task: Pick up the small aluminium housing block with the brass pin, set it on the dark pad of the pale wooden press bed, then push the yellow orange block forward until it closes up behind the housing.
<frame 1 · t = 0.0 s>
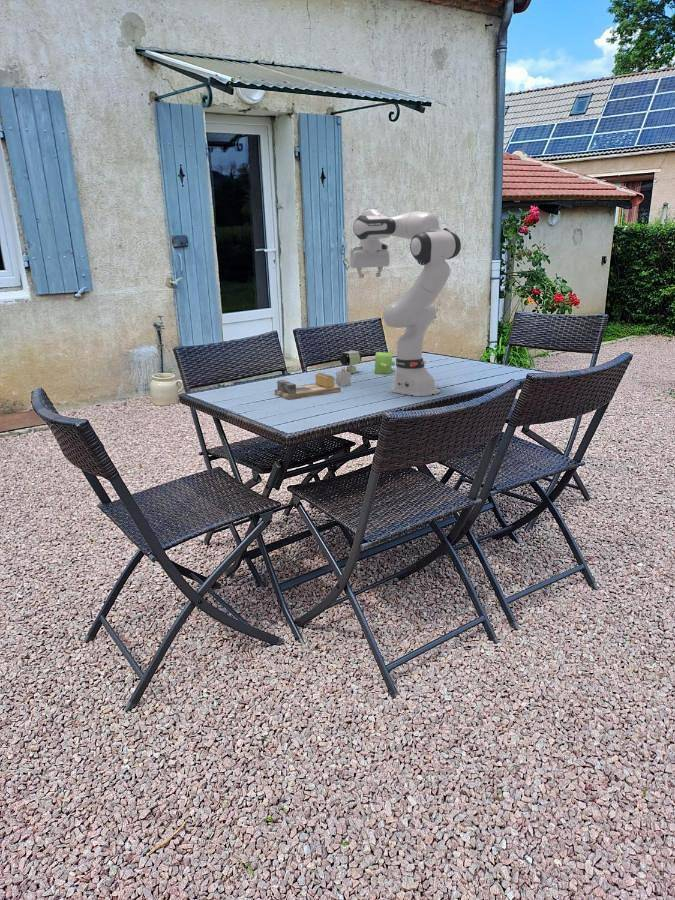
hand: (369, 277, 311), 48 cm above the table, tool pointing down, fingers open, 8 cm apart
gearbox: (384, 372, 341), on the table
housing: (343, 384, 314), on the table
yellow orange block: (324, 379, 302), point 5 cm above the table, slide at 0.0 cm
pneumatic valve: (351, 373, 340), on the table
press bed: (307, 392, 299), on the table
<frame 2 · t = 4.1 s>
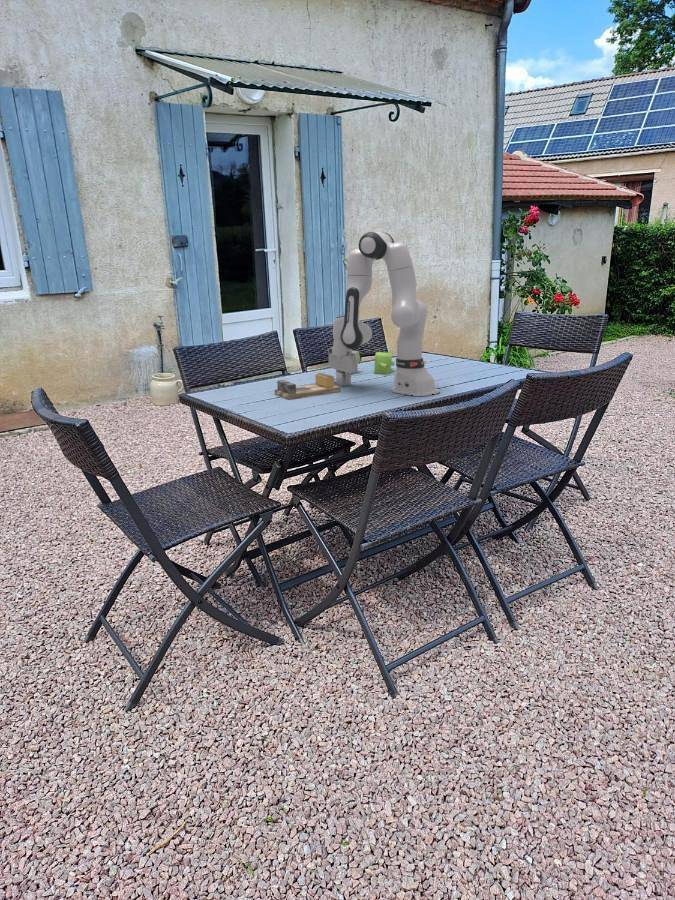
hand: (343, 380, 313), 2 cm above the table, tool pointing down, fingers closed on housing, 5 cm apart
housing: (343, 384, 314), on the table, touching gripper
everything else where it was.
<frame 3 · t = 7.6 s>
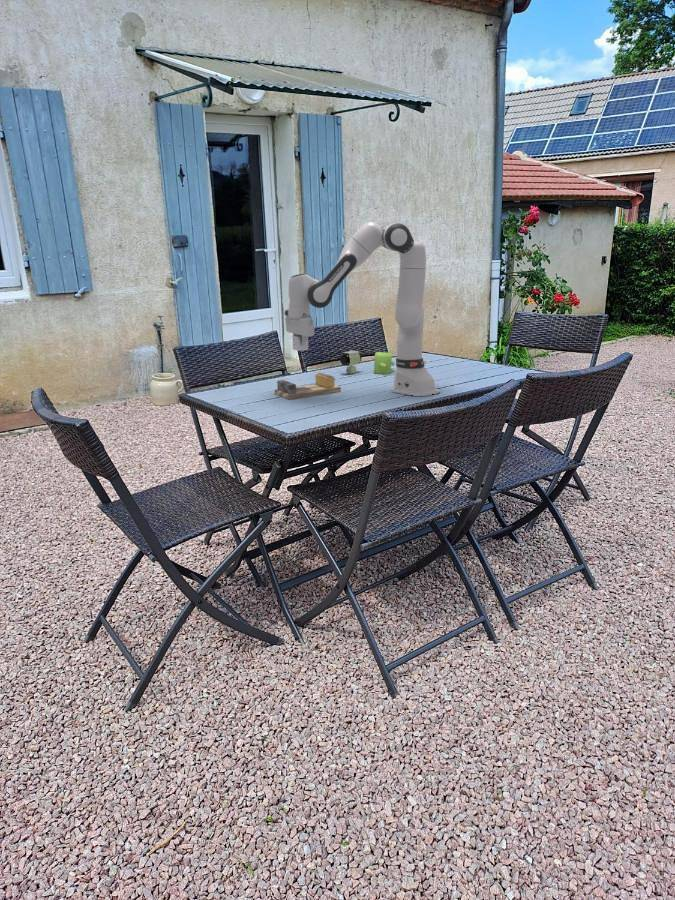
hand: (300, 344, 291), 22 cm above the table, tool pointing down, fingers closed on housing, 5 cm apart
housing: (300, 349, 292), point 20 cm above the table, touching gripper
everything else where it was.
when the fingers open (6 cm above the table, at t = 11.2 s): housing drops 1 cm, resting on press bed.
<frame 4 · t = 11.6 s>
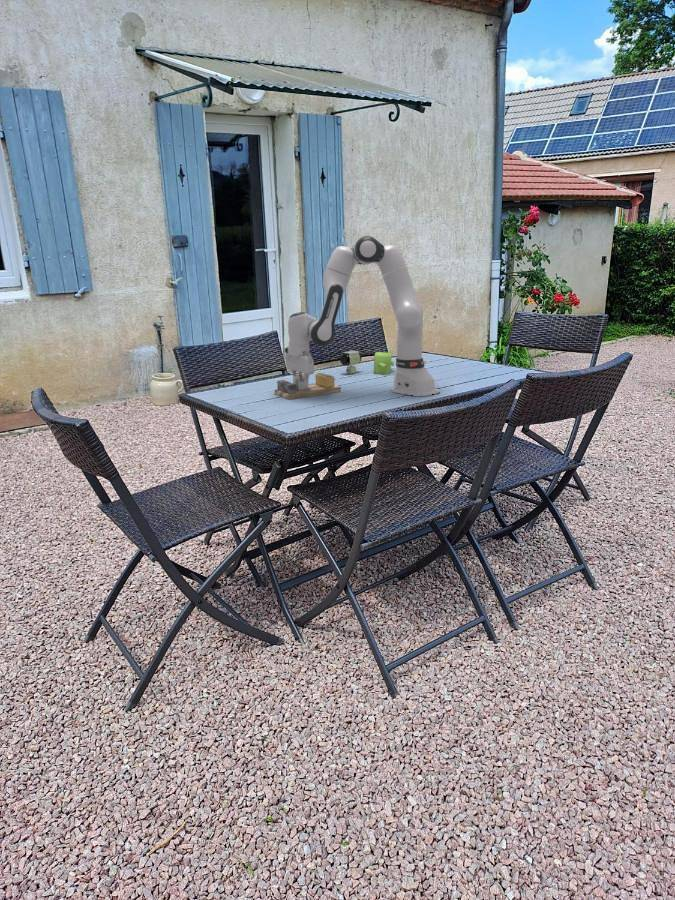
hand: (300, 381, 295), 6 cm above the table, tool pointing down, fingers open, 8 cm apart
housing: (301, 388, 296), point 2 cm above the table, touching press bed
everything else where it was.
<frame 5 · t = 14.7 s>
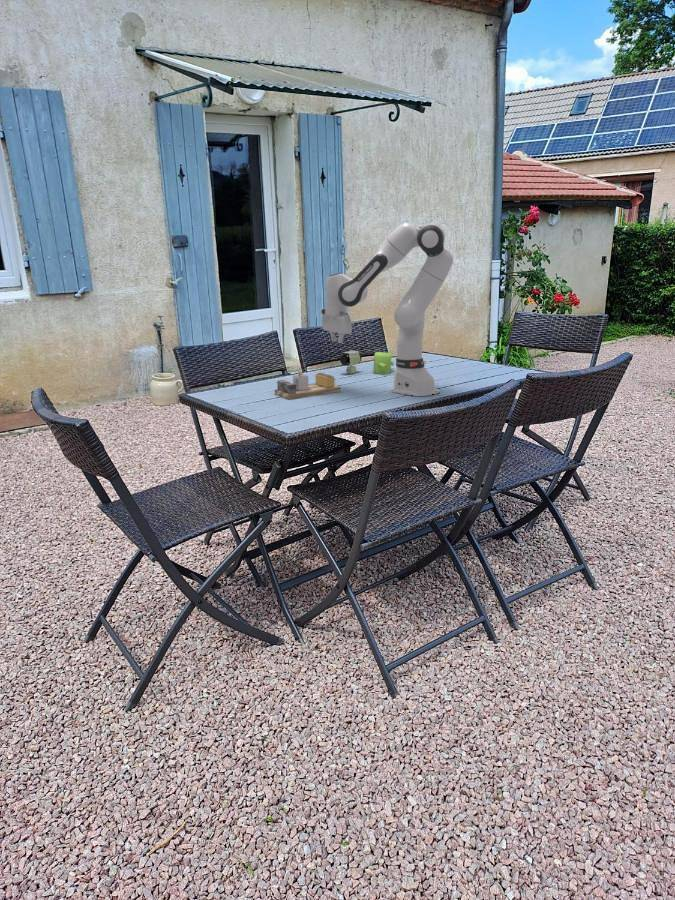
hand: (337, 342, 300), 21 cm above the table, tool pointing down, fingers open, 4 cm apart
nothing on the table moved.
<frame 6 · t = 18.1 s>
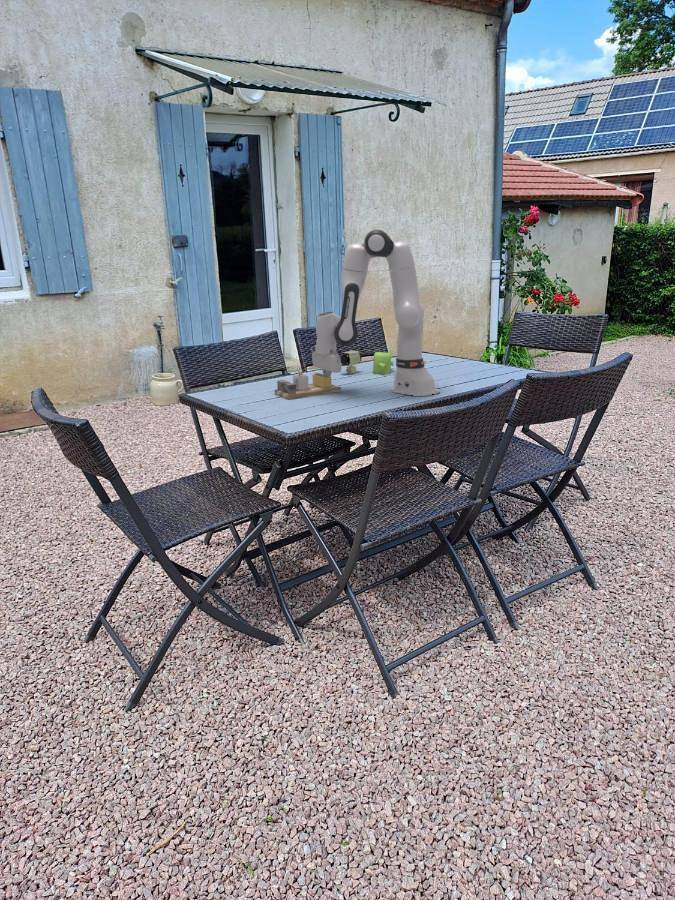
hand: (327, 379, 303), 5 cm above the table, tool pointing down, fingers closed
yellow orange block: (321, 380, 301), point 5 cm above the table, slide at 1.5 cm, touching gripper
everything else where it was.
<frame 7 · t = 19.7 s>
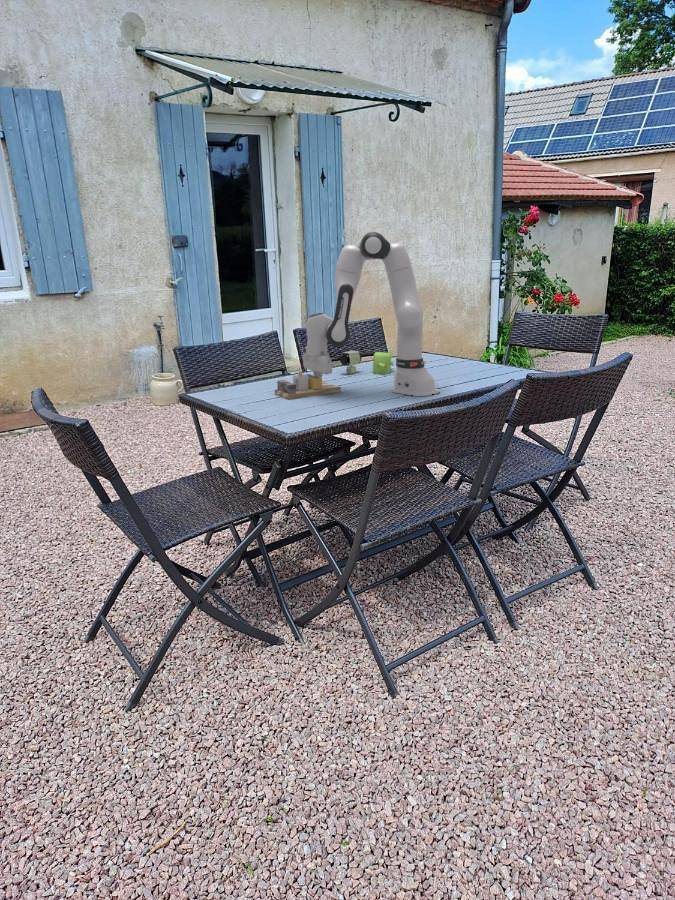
hand: (318, 381, 300), 5 cm above the table, tool pointing down, fingers closed, pressing on yellow orange block
yellow orange block: (312, 381, 299), point 5 cm above the table, slide at 6.4 cm, touching gripper
everything else where it was.
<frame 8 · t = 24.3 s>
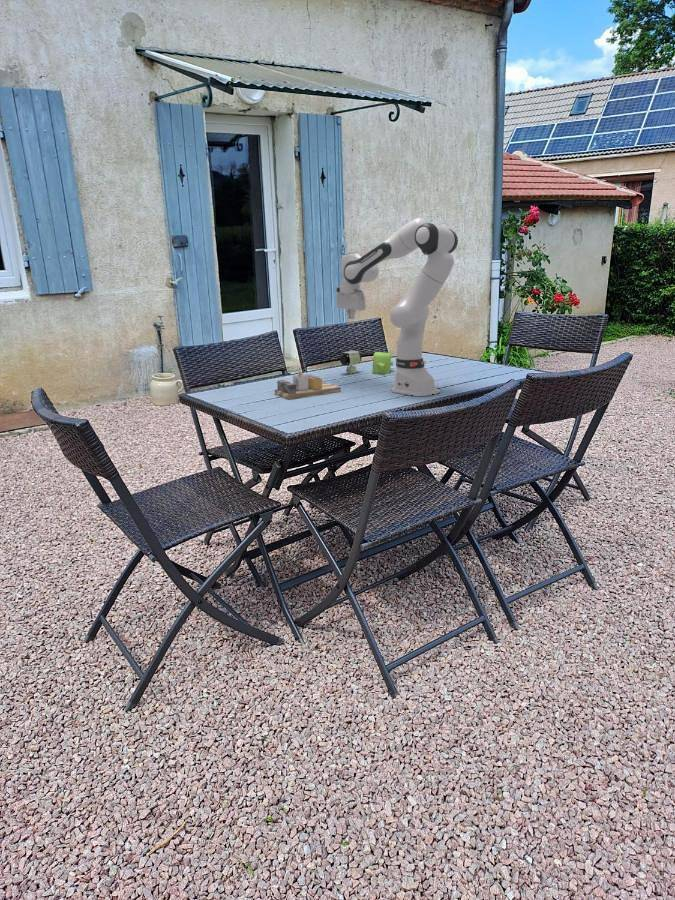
hand: (351, 318, 316), 29 cm above the table, tool pointing down, fingers closed
yellow orange block: (312, 381, 299), point 5 cm above the table, slide at 6.4 cm
everything else where it was.
at the end: housing 0.1 cm from the target spot on the press bed, point 2.2 cm above the press bed's base; housing tilted 0°; yellow orange block slide at 6.4 cm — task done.
